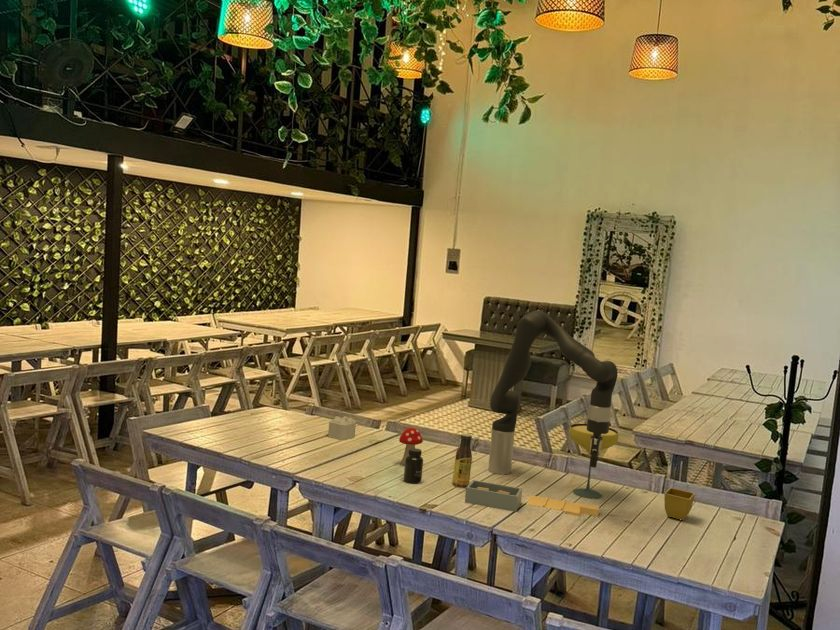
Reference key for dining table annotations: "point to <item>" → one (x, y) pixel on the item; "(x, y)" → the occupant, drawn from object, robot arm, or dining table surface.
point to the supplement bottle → (413, 466)
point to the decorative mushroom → (410, 440)
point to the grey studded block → (342, 428)
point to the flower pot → (678, 503)
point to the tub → (493, 495)
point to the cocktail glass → (583, 439)
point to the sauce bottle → (463, 462)
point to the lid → (563, 506)
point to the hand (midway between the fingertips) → (593, 463)
